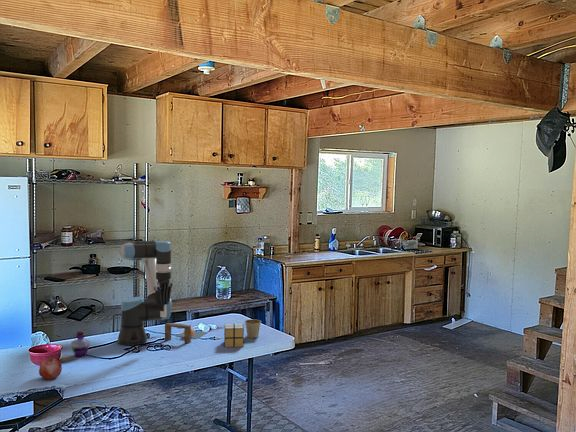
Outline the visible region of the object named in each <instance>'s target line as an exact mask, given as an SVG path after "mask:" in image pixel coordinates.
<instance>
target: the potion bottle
mask: <svg viewBox="0 0 576 432" xmlns="http://www.w3.org/2000/svg"><path fill="white" fill-rule="evenodd" d="M85 337H86V333H85V331H83V330H78V331H77V332H76V334H75V338H76V339H75V340H73V341H71V343H70V344H71V349H72V352H73V354H74V357H75V356H76V358H83V357H82V356H84V357H86V356H87V355H88V349H89V346H90V344H91V343H90V342H91V340H89V339H87V338H85ZM85 355H86V356H85Z"/></svg>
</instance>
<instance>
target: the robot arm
mask: <svg viewBox="0 0 576 432" xmlns="http://www.w3.org/2000/svg"><path fill="white" fill-rule="evenodd" d="M119 255H120V257H121V258H123V259H125V260H127V261H134V262H136V261H140V262H141V264H142V265H143V266H144V272H145V278H146V279H145V280H146V287H147V294H148V295H147V297H146V299H144V297H143V296H134V297H133V296H132V297H130V298H126V299H124V300H123V301H122V302H121V305H120V313H121V314H120V316H121V317H120V331H119V334H118V337H117V344H119V345H121V346H137V345H142V344H145V343H146V342H147V341H148V335H147V334H146V333H147V332H146V330H145V327H144V326H145V325H144V324H145V322H151V321H164V320H168V319H170V317H171V315H172V307H173V306H172V304H173V303H172V302H173V300H172V298H171V293H172V288H173V283H172V282H170V280H171V279H172V244H171V242H170V241H167V240H162V241H161V240H160V241H159V240H133V241H128V242H125V243H123V244H122V245H121V246H120V247H119Z"/></svg>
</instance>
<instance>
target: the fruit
mask: <svg viewBox="0 0 576 432" xmlns="http://www.w3.org/2000/svg"><path fill="white" fill-rule="evenodd" d="M62 366H63V365H62V363H61V361H60V360H58V359H57V358H52V357H51V356H50V355H48V358H47V359H45V360H43V361H42V362H40V364H39V369H38V374H39V376H40V377H41V378H43V379H44V380H47V381H48V380H52V379H55V378H58V377H59V376H60V375H61V373H62V371H63V370H62V369H63V367H62Z"/></svg>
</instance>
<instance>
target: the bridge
mask: <svg viewBox="0 0 576 432" xmlns="http://www.w3.org/2000/svg"><path fill="white" fill-rule="evenodd" d="M172 328H177V329H184V330H185V338H184V337H183V339H184V341H183V342H184V344H186V345H189V344H190V343H191V342H192V339H191V328H192V325H190V324H182V323H174V322H166V323H164V341H167V342H169V341H170V340H172Z"/></svg>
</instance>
